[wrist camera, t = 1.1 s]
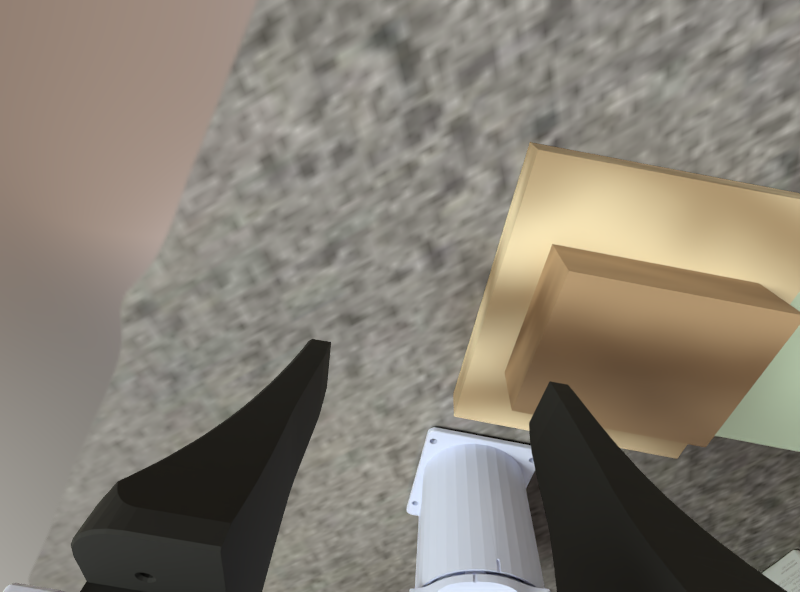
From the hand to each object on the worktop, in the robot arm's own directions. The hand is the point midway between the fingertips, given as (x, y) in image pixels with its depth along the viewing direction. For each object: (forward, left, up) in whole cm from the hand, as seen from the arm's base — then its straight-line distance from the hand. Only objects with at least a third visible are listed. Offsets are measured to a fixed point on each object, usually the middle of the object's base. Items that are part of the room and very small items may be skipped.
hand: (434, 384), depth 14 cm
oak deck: (-1, -10, -11) cm, 15 cm away
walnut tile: (-1, -10, -9) cm, 13 cm away
